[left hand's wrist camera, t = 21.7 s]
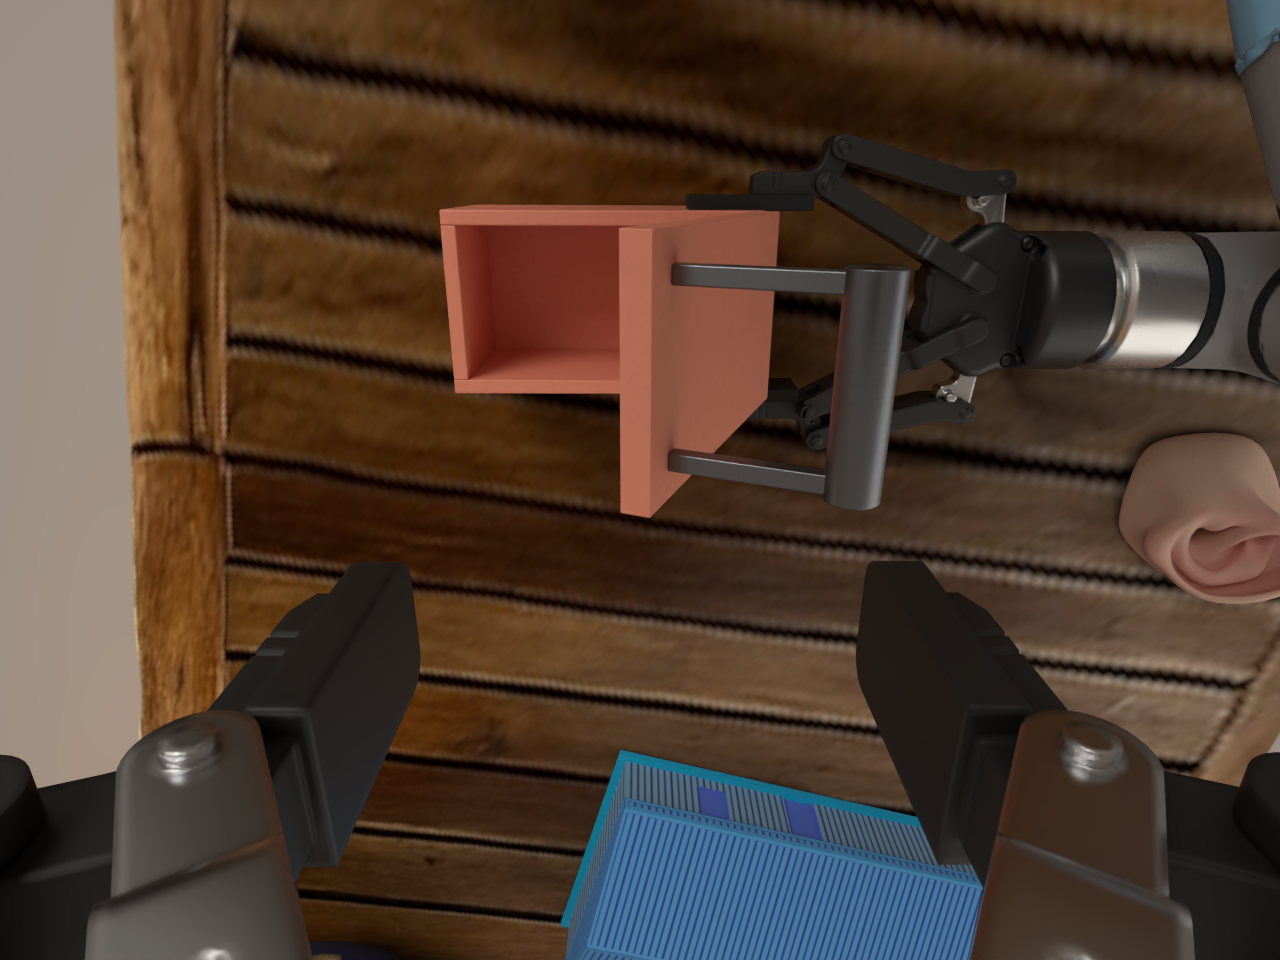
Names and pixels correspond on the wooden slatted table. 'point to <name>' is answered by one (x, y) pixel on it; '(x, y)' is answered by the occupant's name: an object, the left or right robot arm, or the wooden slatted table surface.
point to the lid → (743, 359)
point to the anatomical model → (1207, 516)
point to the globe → (349, 951)
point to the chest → (539, 293)
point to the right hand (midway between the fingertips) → (685, 300)
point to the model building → (758, 875)
